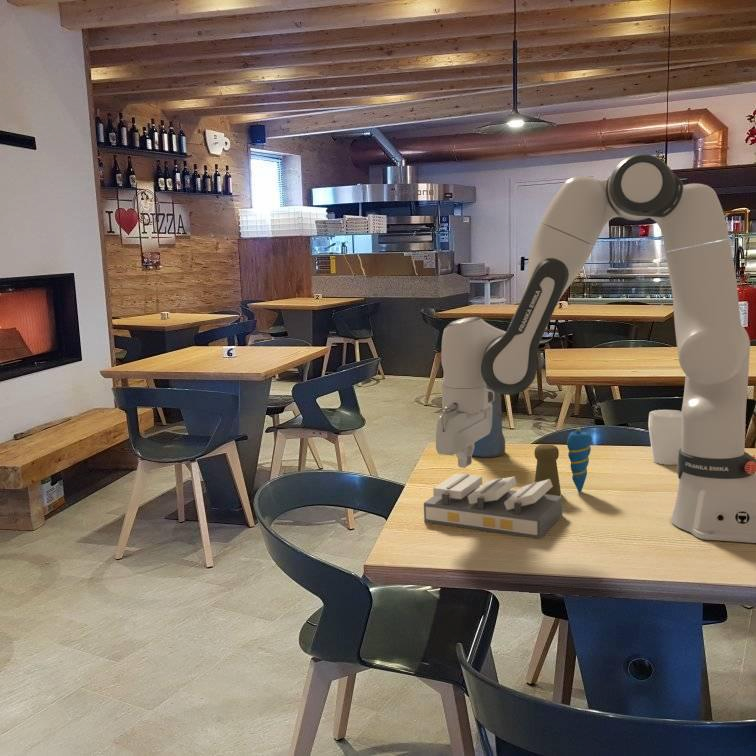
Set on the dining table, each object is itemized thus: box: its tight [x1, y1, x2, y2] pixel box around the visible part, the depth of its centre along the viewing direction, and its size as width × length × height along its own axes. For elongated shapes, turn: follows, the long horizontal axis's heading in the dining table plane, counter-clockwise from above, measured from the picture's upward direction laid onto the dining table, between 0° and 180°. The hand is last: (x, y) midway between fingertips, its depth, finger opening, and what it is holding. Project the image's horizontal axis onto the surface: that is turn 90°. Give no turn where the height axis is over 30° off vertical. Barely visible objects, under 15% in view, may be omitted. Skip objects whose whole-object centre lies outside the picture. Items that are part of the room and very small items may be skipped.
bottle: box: [472, 384, 506, 459], centre depth 207 cm, size 10×10×30 cm
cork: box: [533, 443, 562, 496], centre depth 173 cm, size 6×6×11 cm
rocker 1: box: [468, 475, 517, 504], centre depth 160 cm, size 6×11×2 cm, turn 150°
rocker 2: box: [504, 479, 553, 510], centre depth 156 cm, size 6×11×2 cm, turn 150°
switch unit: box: [423, 485, 563, 540], centre depth 160 cm, size 24×14×6 cm, turn 60°
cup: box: [647, 409, 682, 466], centre depth 194 cm, size 9×9×12 cm
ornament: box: [566, 425, 592, 493], centre depth 174 cm, size 5×5×15 cm
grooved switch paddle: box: [432, 473, 483, 499], centre depth 163 cm, size 6×11×2 cm, turn 150°
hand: (465, 465), depth 162 cm, fingers closed
